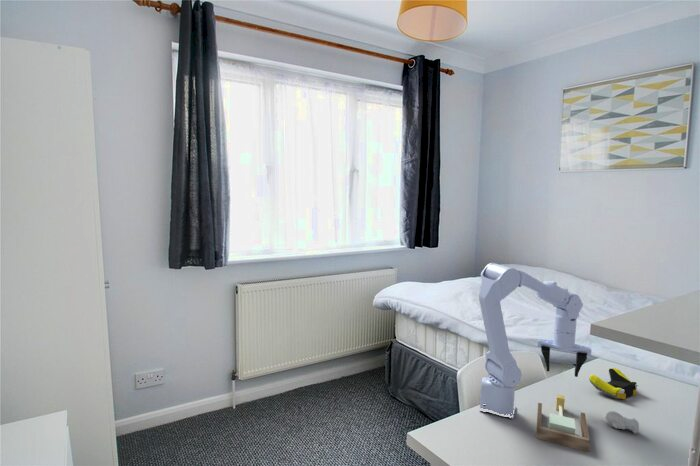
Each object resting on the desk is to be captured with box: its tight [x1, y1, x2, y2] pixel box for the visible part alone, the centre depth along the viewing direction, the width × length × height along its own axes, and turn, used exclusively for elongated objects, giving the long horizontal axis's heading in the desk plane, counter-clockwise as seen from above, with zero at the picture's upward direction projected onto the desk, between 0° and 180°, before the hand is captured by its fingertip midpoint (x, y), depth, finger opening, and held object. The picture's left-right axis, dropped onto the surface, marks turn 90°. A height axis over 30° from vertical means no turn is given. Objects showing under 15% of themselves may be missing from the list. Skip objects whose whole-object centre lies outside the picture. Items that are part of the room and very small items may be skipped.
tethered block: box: [548, 394, 576, 435], centre depth 112 cm, size 6×18×4 cm, turn 153°
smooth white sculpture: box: [605, 410, 640, 435], centre depth 110 cm, size 4×8×5 cm
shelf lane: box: [535, 402, 590, 452], centre depth 109 cm, size 12×14×3 cm
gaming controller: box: [589, 367, 639, 400], centre depth 130 cm, size 15×6×10 cm
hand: (561, 372), depth 123 cm, fingers open, 7 cm apart
